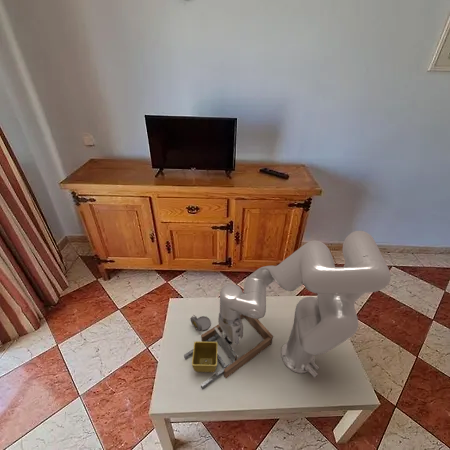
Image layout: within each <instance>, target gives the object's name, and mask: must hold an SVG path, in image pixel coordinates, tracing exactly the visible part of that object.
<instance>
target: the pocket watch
mask: <svg viewBox="0 0 450 450" xmlns="http://www.w3.org/2000/svg"><path fill="white" fill-rule="evenodd" d="M189 320H190V322H191V325H192V326H193V328H194V329H195V330H196V331H198V332H203V331H206V330H207V331H208V329H210V328H211V324H212V323H211V318H209V317H208V316H204V315H203V316H199V317H197V316H196V314H193V315H192V316H191V317H190V319H189Z"/></svg>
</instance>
